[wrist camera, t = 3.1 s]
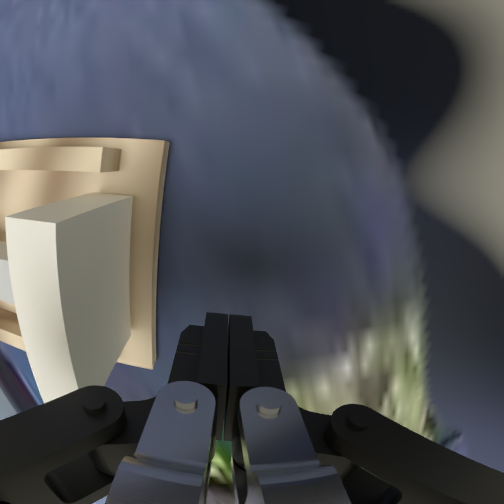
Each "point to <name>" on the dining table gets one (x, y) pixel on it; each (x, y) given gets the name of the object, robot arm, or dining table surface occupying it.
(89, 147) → the frame
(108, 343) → the plunger
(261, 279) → the dining table surface
